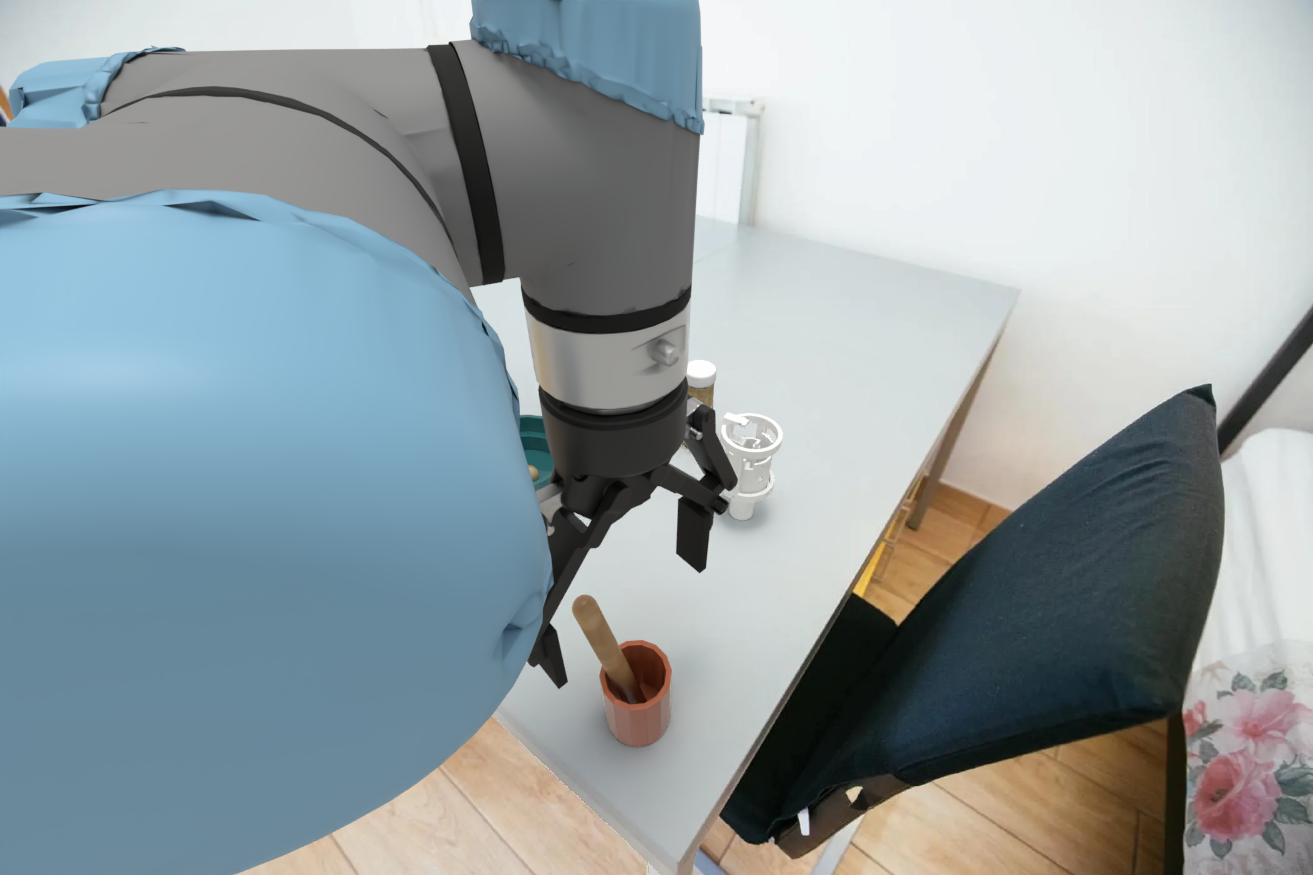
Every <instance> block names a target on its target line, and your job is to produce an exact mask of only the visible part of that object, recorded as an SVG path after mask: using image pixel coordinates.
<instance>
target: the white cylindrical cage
mask: <svg viewBox="0 0 1313 875" xmlns="http://www.w3.org/2000/svg"><path fill="white" fill-rule="evenodd" d="M750 422H752V424H756V425H757V427H756V433H755V437H752V436H751V437H750V436H738V435H736V434H734V430H735V426H737V427H739V428H742V429H746V428H747V426H748V425H749V424H750ZM768 429H769V430H770V431H771V432H772V433H773V434H774V435H775V437H776V440H775V442H774V440H773V439H772V436H771V435H770V434H767V432H768ZM720 431H721V432H720V442H721V445H722V447H723V448H724V449H726V450H725V453H726V455H727V457H728V459H729V461H730V463H731V465H732V467H733V470H734V472H735V474H736V476H737V478H738V482H737V484H736V486H735V487H734V489H733V490H731V491H727V490H726V489H724V490H723V491H722V493H721V494H723V495H724V496H725V497H727V498H728V499H729V500H730V502H729V514H730V516H731V517H732V518H733V519H735V520H736V521H741V522H742V521H747V520H750V519H751V518H752V517H753V514H754V508H755V503H758V502H761V501H763V500H765V499H767V498H768V497H769V496H770V495H771V494H772V493H773V490H774V486H775V478H776V477H775V474H774V471H773V470H772V469H771V465H772V461H773V455H775V454H776V453H778V451H779V450H780V449H781V446H782V441H783V436H784V434H783V430H782V428H781V426H780V425H779V424H778V423H777V422H776V421H775V420H774V419H772V418H770V417H769V416H766V415H763V414H759V413H751V412H745V413H739V414H735V413H731V412H726V413H725V414H724V416H723V421H722V426H721V429H720Z"/></svg>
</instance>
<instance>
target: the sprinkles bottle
mask: <svg viewBox="0 0 1313 875" xmlns="http://www.w3.org/2000/svg"><path fill="white" fill-rule="evenodd" d="M686 377H687V381H688V394H689V395H691V396H692V397H694V398H696V399H697V400H699V401H701V402H702V403H704V404H706V405H707V406H709V407H711V408H712V409H714V394H715V383H716V380H717V366H715V364H713V363H712V362H711V361H708V360H705V359H694V360H690V361H688V368H687V374H686ZM682 444H683V445H684V447H686V448H687V449H689V448H688V446H687V445H686V443H685V441H684V440H683V443H682Z"/></svg>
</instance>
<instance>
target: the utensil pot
mask: <svg viewBox="0 0 1313 875" xmlns="http://www.w3.org/2000/svg"><path fill="white" fill-rule="evenodd" d="M618 645H619V647H620V649H621V651H622V652H623V654H624V656H625V658H626V660H627V662H628V664H629V666H630V668H631V670H632V672H633V674H634V676H635V678H636V680H637V682H638V684H639V686H640V688H641V690H642V692H643V693H644V695H645V697H646V699H647V702H646V703H642V704H628V703H625V702H623V701H622V699H621V698H620V696H619V694H618V692H617V691H616V689H615V687H614V685H613V684H612V682H611V680H610V678H609V677H608V675H607V673H606V671H605V670H604V668H603V666H602V665H601V667H600V672H599V676H598V677H599V683H600V690H601V695H602V702H603V708H604V713H605V717H606V722H607V727H608V728H609V731H610V733H612V735H613V736H614V738H615V739H616V740H618V741H619V742H620V743H622V744H623V745H626V746H628V747H632V748H641V747H647V746H649V745H652V744H653V743H655V742H657V741H658V740H660V738H662V736H663V735H664V734H665V732H666V731H667V729H668V727H669V724H670V720H671V715H672V714H671V713H672V691H673V690H672V686H673V685H672V684H673V682H672V680H673V679H672V678H673V670H672V667H671V664H670V661H669V658H668V655H667V654H666V653H665V652H664V651H663V650H662V649H661V648H660V647H659V646H658V645H657V644H655V643H652V642H649V641H646V640H643V639H634V640H626V641H623V642H622V643H620V644H618Z"/></svg>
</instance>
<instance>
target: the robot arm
mask: <svg viewBox="0 0 1313 875" xmlns="http://www.w3.org/2000/svg"><path fill="white" fill-rule="evenodd" d="M470 3H471V11H472V17H471V19H470V21H469V22H468V26H469V32H470V33H469V34H470V39H463V40H462V39H461V40H452V41H451V40H450V41H448V43H447V44H446V43H445V44H428V45H427V46H426V47H411V48H410V47H409V48H408V47H407V48H403V47H402V48H327V49H326V48H318V49H317V48H316V49H315V48H309V49H307V48H306V49H305V48H304V49H303V48H302V49H299V48H297V49H247V50H243V49H242V50H197V51H196V50H194V51H193V50H192V51H190V50H189V51H187V50H186V49H185V48H183V47H178V46H164V47H157V46H155V45H150V47H151V48H150V47H148V48H144V49H142V50H140V51H125V52H117V53H113V54H111V55H110V56H101V57H100V56H99V57H88V58H75V59H63V60H62V59H60V60H51V61H45V62H44V61H43V62H41V63H38V64H36V65H34V66H32V67H30V68H28V69H26V70H24V71H22V72H21V73H20V74H18V75H17V77H16V79H15V80H14V82H13V83H12V84H11V86H10V87H9V89H8V97H7V102H8V105H9V108H10V109H9V110H10V112H11V115H12V117H13V119H12V120H10V121H8V122H7V123H6V125H5V126H0V875H237V874H241V873H243V872H245V871H249V870H251V869H253V868H256V867H258V866H261V865H263V864H266V863H268V862H271V861H274V860H276V859H278V858H281V857H284V856H286V855H288V854H290V853H292V852H295V851H297V850H299V849H301V848H304V847H306V846H308V845H310V844H313V843H315V842H317V841H319V840H321V839H323V838H325V837H327V836H329V835H331V834H332V833H334V832H336V831H339V830H341V829H342V828H344V827H346V826H349V825H350V824H352V823H354V822H356V821H357V820H360V819H361V818H363V817H365V816H367V815H368V814H370V813H372V812H374V811H375V810H378V809H379V808H381V807H383V806H385V805H386V804H388V803H390V802H391V801H393V800H394V799H396V798H398V797H399V796H401V795H402V794H403V793H405V792H406V791H408V790H410V789H411V788H412V787H414V786H416V785H417V784H418V783H420V782H421V781H423V780H424V779H426V777H428V776H429V775H431V773H432V772H434V771H435V770H436V769H438V768H439V767H440V766H442V765H443V764H444V763H445V762H446V761H447V760H448V759H450V758H451V757H452V756H453V755H455V753H456V752H457V751H458V750H459V749H460V748H461V747H462V746H464V745H465V744H466V743H467V742H468V741H469V740H470V739H472V737H474V736H475V735H476V733H478V731H479V730H480V729H481V728H482V727H484V725H485V724H486V722H487V721H489V719H490V718H492V716H493V715H494V713H495V712H496V711H497V709H498V708H499V707H500V705H501V704H502V702H503V701H504V700H505V698H506V697H507V696H508V694H510V692H511V690H512V689H513V688H514V686H515V684H516V682H517V680H518V679H519V677H520V675H521V673H522V671H523V670H524V668H525V666H526V663H528V665H529V666H530V667H533V668H535V667H537V666H540V668H541V669H542V670H543V672H544V673H545V674H546V675H547V676H548V678H549V679H550V680H551V682H552V683H553V684H554V685H555V687H556V688H557V689H558V690H560V689H562V688H563V687H564V686H565V685H566V684H567V683H569V680H568V675H567V671H566V666H565V662H564V656H563V653H562V649H561V644H560V639H559V635H558V630H557V629H556V628H555V626H554V625H552V623H551V621H552V619H553V618H554V616H555V615H556V612H557V611H558V608H559V606H560V605H561V603H562V601H563V599H564V597H565V595H566V593H567V592H568V590H569V589H570V586H571V585H572V583H573V581H574V579H575V577H576V575H577V573H578V572H579V570H580V568H581V566H582V564H583V562H584V561H585V559H586V557H587V555H588V553H589V552H590V550H592V549H597V548H599V547H600V546H601V545H602V543H603V541H604V539H605V538H606V536H607V534H608V533H609V530H610V529H611V527H612V525H613V524H615V523H617V521H619V520H621V519H622V518H623V517H624V516H626V515H627V514H628V513H629V512H630V511H631V510H632V509H634V508H636V507H639V506H642V505H643V504H644V503H646V502H647V501H649V500H650V499H652V498H651V497H652V494H653V493H655V491H656V489H657V488H662V489H664V490H666V491H669V492H671V493H673V494H678V495H680V497H679V498H678V499H677V514H676V518H677V519H676V540H675V542H676V544H675V554H676V555H677V556H678V557H679V558H681V559H682V560H683V561H684V562H685V563H687V564H688V565H689V566H690V567H691V568H692V569H694V570H695V571H696V572H697V573H698V574H701V573H702V572H704V571H705V570H706V569H707V563H708V554H709V542H710V535H711V534H710V532H711V531H712V528H713V525H714V518H715V517H714V516H715V514H716V515H718V516H722V515H723V514H725V512H726V511H727V510H728V509H729V507H730V502H729V501H728V500H727V499H725V498H724V497H723V496H721V495H722V494H723V493H722V491H723V490H724V489H726V490H727V491H731V490H733V489H734V487H735V486H736V484H737V482H738V478H737V476H736V474H735V472H734V470H733V467H732V465H731V463H730V461H729V459H728V457H727V455H726V450H725V448H724V446H723V444H722V441H721V439H720V438H719V436H718V435H717V431H716V430H717V429H716V428H717V424H716V417H717V416H716V415H717V414H716V410H715V409H714V408H713V409H712V408H711V407H709V406H707V405H706V404H704V403H702V402H701V401H699V400H697V399H696V398H694V397H692V396H691V395H689V394H688V381H687V377H686V374H687V368H688V362H689V357H690V356H689V355H690V353H689V352H690V332H691V331H690V330H691V328H690V327H691V326H690V325H691V307H692V306H691V305H692V289H693V288H692V286H693V271H694V254H695V252H694V251H695V231H696V213H697V198H698V197H697V196H698V195H697V194H698V181H699V180H698V178H699V177H698V175H699V160H700V149H701V148H700V147H701V146H700V144H701V136H704V134H705V126H706V125H705V124H706V123H705V120H704V117H703V116H704V114H703V112H704V111H703V110H704V109H703V45H702V24H701V18H702V17H701V7H700V1H699V0H470ZM518 278H519V281H520V291H521V298H522V302H523V309H524V316H525V321H526V329H527V334H528V335H527V336H528V341H529V346H530V353H531V359H532V366H533V371H534V375H535V380H536V382H537V383H538V399H539V406H540V410H541V416H542V417H543V423H544V429H545V434H546V440H547V444H548V447H549V450H550V453H551V456H552V459H553V463H554V466H553V471H552V475H551V477H550V481H549V485H548V486H546V487H544V488H542V489H539V490H537V491H535V489H534V485H533V481H532V478H531V474H530V471H529V467H528V464H527V460H526V457H525V453H524V449H523V446H522V442H521V439H520V435H519V432H520V415H521V405H520V397H519V391H518V387H517V385H516V383H515V382H514V380H513V378H512V377H511V375H510V372H509V371H508V369H507V363H506V362H507V361H506V353H505V348H504V346H503V344H502V342H501V339H500V337H499V334H498V333H497V332H496V330H494V328H493V327H492V326H491V324H490V323H489V322H488V321H487V320H486V318H484V317H485V316H484V313H483V311H482V310H481V309H480V308H479V306H478V305H477V302H476V300H475V297H474V295H473V292H472V290H471V288H477V287H482V286H488V285H494V284H499V283H500V284H501V283H503V282H504V281H507V280H511V279H518ZM683 440H684V441H685V443H686V445H687V446H688V448H687V449H688V450H689V452H690V453H691V455H692V457H693V458H694V460H695V462H696V464H697V465H698V467H699V469H700V471H701V472H702V474H703V476H702V477H701V478H700V479H698V478H696V477H694V476H692V475H691V474H690V473H688V472H685V471H684V470H682V469H680V468H679V467H676V466H675V465H673V464H671V460H672V458H673V456H674V455H675V454H676V453H677V452H678V451H679V449H680V448H681V446H682V444H683ZM577 515H579V516H581V517H583V518H586V519H588V520H590V522H589V524H588V525H587V524H586V523H584V522H583V521H582V519H580V518H579V517H578V516H577Z"/></svg>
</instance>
